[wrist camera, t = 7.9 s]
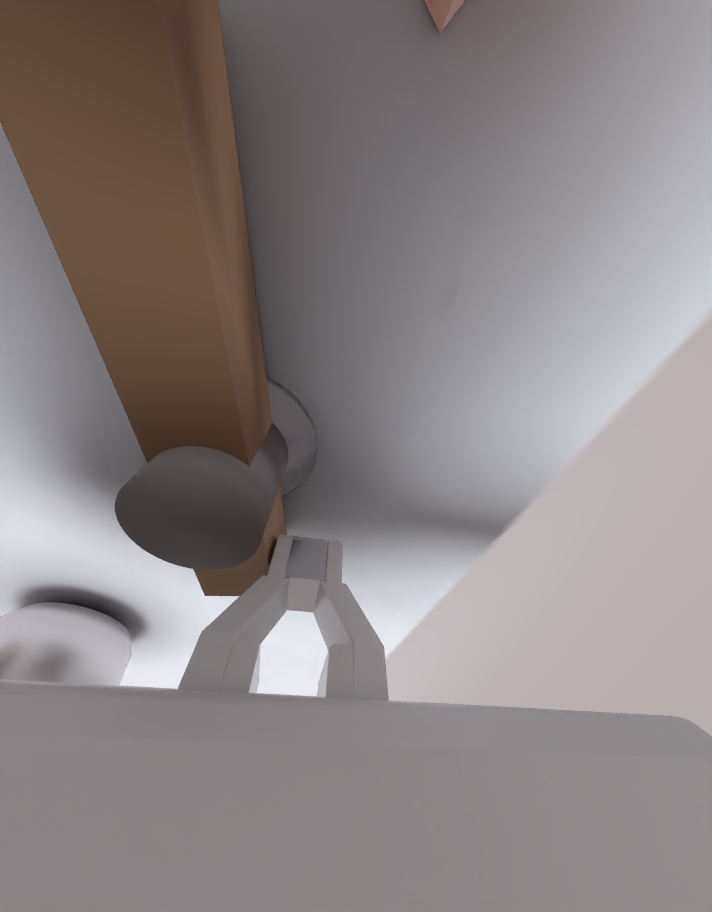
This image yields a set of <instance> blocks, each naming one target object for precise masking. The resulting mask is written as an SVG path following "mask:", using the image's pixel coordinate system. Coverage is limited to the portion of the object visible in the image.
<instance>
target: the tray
mask: <svg viewBox="0 0 712 912" xmlns="http://www.w3.org/2000/svg"><path fill="white" fill-rule="evenodd" d="M424 1H425V3H426V5H427V8H428V10H429V12H430V14H431V16H432V18H433V20H434V23H435V25H436V27H437V29H438V31H439V33H440V34H441V32H442V31H443V30H444V28H445V27H446V26H447V24H448V23H449V22H450V20H451V19H452V18H453V16H454V15H455V14H456V12H457V11H458V10H459V8H460V7H461V6H462V4H463V3H464V2H465V0H424Z"/></svg>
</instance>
